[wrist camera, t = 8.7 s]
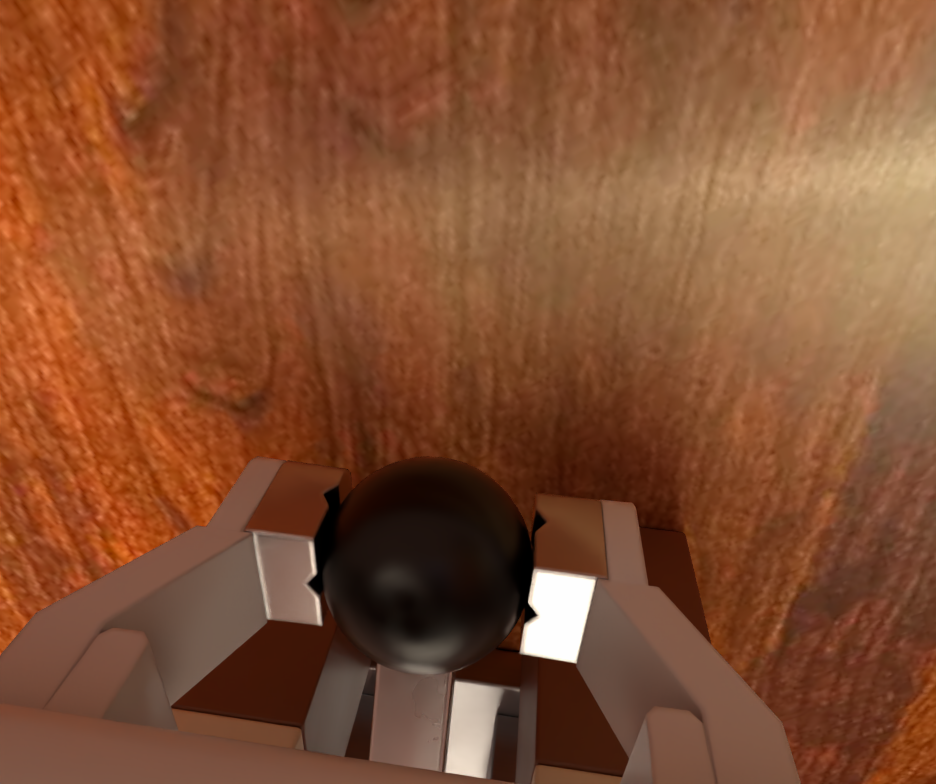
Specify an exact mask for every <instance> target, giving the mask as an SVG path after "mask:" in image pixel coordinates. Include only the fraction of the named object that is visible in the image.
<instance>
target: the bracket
mask: <svg viewBox="0 0 936 784" xmlns="http://www.w3.org/2000/svg"><path fill="white" fill-rule="evenodd" d="M521 664H522V654H520V653H518V652H511V651H504V650H497V649H494V650H493V651H492V652H490V653H489V654H488V655H487V656H485V657H483V658H482V659H480V660H479V661H477V662H475V663H473V664H471V665H469V666H467V667H465V668H462V669H460V670H457V671H456V678H455V687H454V696H453V706H452V715H451V725H450V734H449V743H448V753H447V762H446V772H447V773H453V774H460V775H466V776H473V777H479V778H486V779H492V780H498V781H505V782H511V783H515V778H516V759H517V740H518V721H519V702H520V683H521ZM376 666H377V663H376V662H374V661H373V660H371V663H370V667H369V670H368V674H367V677H366V681H365V685H364V688H363V692H362V695H361V699H360V703H359V706H358V710H357V713H356V717H355V721H354V724H353V728H352V731H351V735H350V739H349V742H348V746H347V749H346V753H345V757H350V758H357V759H363V760H369V749H370V737H371V725H372V713H373V702H374V690H375V678H376Z"/></svg>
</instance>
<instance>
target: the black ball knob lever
mask: <svg viewBox="0 0 936 784" xmlns="http://www.w3.org/2000/svg"><path fill="white" fill-rule="evenodd" d="M531 553H532V546H531V542H530V537H529V533H528V529H527V527H526V524H525V521H524V519H523V517H522V515H521V513H520V511H519V509H518V507H517V506H516V504H515V503H514V502H513V500H512V499H511V497H510V496H509V495H508V493H507V492H506V491H505V490H504V489H503V488H502V487H501V486H500V485H499V484H498V483H497V482H496V481H495V480H493V479H492V478H491V477H490V476H488V475H487V474H485V473H484V472H482V471H480V470H479V469H477V468H475V467H473V466H471V465H468V464H466V463H463V462H460V461H457V460H454V459H449V458H443V457H430V456H427V457H415V458H410V459H405V460H401V461H398V462H395V463H392V464H389V465H387V466H385V467H383V468H381V469H379V470H377V471H375V472H374V473H372V474H371V475H369V476H368V477H366V478H365V479H364V480H363V481H361V482H360V483H359V484H358V485H357V486H356V487H355V488H354V489H353V490H352V491H351V492H350V493H349V494H348V495H347V497H346V498H345V499H344V500H343V502H342V503H341V505H340V507H339V508H338V510H337V512H336V513H335V515H334V516H333V519H332V521H331V523H330V526H329V528H328V531H327V535H326V539H325V542H324V547H323V555H322V583H323V590H324V594H325V598H326V601H327V604H328V607H329V609H330V611H331V614H332V616H333V619H334V620H335V622H336V624H337V626H338V627H339V629H340V630H341V632H342V633H343V634H344V636H345V637H346V638H347V639H348V641H349V642H350V643H351V644H352V645H353V646H354V647H355V648H356V649H358V650H359V651H360V652H361V653H363V654H364V655H365V656H366V657H368V658H370V659H371V660H373V661H374V662H376V663H377V666H376V678H375V690H374V702H373V713H372V725H371V737H370V749H369V760H370V761H376V762H382V763H389V764H395V765H402V766H408V767H415V768H421V769H427V770H434V771H440V772H446V762H447V753H448V743H449V734H450V725H451V715H452V706H453V696H454V687H455V678H456V671H457V670H460V669H462V668H465V667H467V666H469V665H471V664H473V663H475V662H477V661H479V660H480V659H482V658H483V657H485V656H487V655H488V654H489V653H490V652H492V651H493V650H494V649H495V648H497V646H498V645H499V644H500V643H501V642H502V641H503V640H504V639H505V638H506V637H507V636H508V635H509V633H510V632H511V630H512V629H513V628H514V626H515V625H516V623H517V621H518V619H519V617H520V616H521V614H522V612H523V609H524V607H525V604H526V602H527V599H528V588H529V579H530V569H531Z"/></svg>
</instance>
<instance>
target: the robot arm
mask: <svg viewBox="0 0 936 784" xmlns="http://www.w3.org/2000/svg"><path fill="white" fill-rule="evenodd" d="M351 491H352V480H351V472H350V471H349V470H348V469H343V468H336V467H330V466H323V465H316V464H309V463H303V462H296V461H289V460H288V461H285V460H278V459H272V458H265V457H258V456H257V457H256V458H254V459H252V460H251V461H250V462H249V463H248V464H247V466H246V467H245V469H244V470H243V472H242V473H241V475H240V476H239V478H238V480H237V481H236V483H235V484H234V486H233V487H232V489H231V490H230V492H229V493H228V495H227V496H226V498H225V499H224V501H223V502H222V504H221V505H220V507H219V508H218V510H217V511H216V513H215V514H214V516H213V517H212V519H211V520H210V522H209V523H208V525H207V526H206V527H203V526H195V527H194V528H192V529H190V530H188V531H186V532H184V533H183V534H181V535H179V536H177V537H175V538H173V539H171V540H170V541H168V542H166V543H164V544H162V545H160V546H159V547H157V548H155V549H153V550H151V551H149V552H147V553H146V554H144V555H142V556H140V557H138V558H136V559H135V560H133V561H131V562H129V563H127V564H125V565H123V566H122V567H120V568H118V569H116V570H114V571H112V572H111V573H109V574H107V575H105V576H103V577H101V578H99V579H98V580H96V581H94V582H92V583H90V584H88V585H87V586H85V587H83V588H81V589H79V590H77V591H76V592H74V593H72V594H70V595H68V596H66V597H64V598H63V599H61V600H59V601H57V602H55V603H53V604H52V605H50V606H48V607H46V608H44V609H42V610H40V611H39V612H37V613H36V614H35V615H34V616H33V617H32V618H31V620H30V621H29V622H28V623H27V624H26V625H25V627H24V628H23V629H22V630H21V631H20V633H19V634H18V635H17V636H16V637H15V638H14V640H13V641H12V642H11V643H10V644H9V646H8V647H7V648H6V649H5V650H4V651H3V653H2V654H1V655H0V784H518V783H511V782H505V781H498V780H492V779H486V778H479V777H473V776H466V775H460V774H453V773H447V772H440V771H434V770H427V769H421V768H415V767H408V766H402V765H395V764H389V763H382V762H376V761H370V760H363V759H357V758H350V757H344V756H337V755H331V754H325V753H318V752H312V751H305V750H299V749H292V748H286V747H280V746H273V745H267V744H260V743H254V742H247V741H241V740H235V739H228V738H222V737H215V736H209V735H203V734H196V733H190V732H183V731H179V730H178V727H177V724H176V721H175V718H174V715H173V712H172V709H171V705H173V704H174V703H175V702H176V701H177V700H178V699H180V698H181V697H182V696H183V695H184V694H185V693H187V692H188V691H189V690H190V689H191V688H192V687H193V686H195V685H196V684H197V683H198V682H199V681H200V680H202V679H203V678H204V677H205V676H206V675H207V674H209V673H210V672H211V671H212V670H213V669H214V668H215V667H217V666H218V665H219V664H220V663H221V662H222V661H224V660H225V659H226V658H227V657H228V656H229V655H231V654H232V653H233V652H234V651H235V650H236V649H237V648H239V647H240V646H241V645H242V644H243V643H244V642H246V641H247V640H248V639H249V638H250V637H251V636H253V635H254V634H255V633H256V632H257V631H258V630H259V629H261V628H262V627H263V626H264V625H265V624H266V623H267V620H276V621H285V622H294V623H303V624H312V625H320V626H322V625H323V622H324V620H325V617H326V614H327V612H328V609H329V607H328V604H327V601H326V598H325V594H324V590H323V583H322V555H323V547H324V542H325V539H326V535H327V531H328V528H329V526H330V523H331V521H332V519H333V516H334V515H335V513H336V512H337V510H338V508H339V507H340V505H341V503H342V502H343V500H344V499H345V498H346V497H347V495H348V494H349V493H350V492H351ZM529 537H530V542H531V546H532V553H531V569H530V579H529V588H528V599H527V602H526V604H525V607H524V609H523V612H522V616H521V637H520V654H524V655H530V656H536V657H542V658H548V659H554V660H559V661H565V662H571V663H577V665H576V667H577V669H578V670H579V672H580V674H581V676H582V677H583V679H584V681H585V683H586V684H587V686H588V688H589V690H590V691H591V693H592V695H593V696H594V698H595V700H596V702H597V703H598V705H599V707H600V709H601V710H602V712H603V714H604V716H605V717H606V719H607V721H608V723H609V724H610V726H611V728H612V730H613V731H614V733H615V735H616V737H617V738H618V740H619V742H620V744H621V745H622V747H623V749H624V751H625V752H626V754H627V756H628V758H629V761H628V764H627V766H626V769H625V772H624V774H623V777H622V779H621V782H620V784H801V782H800V779H799V776H798V773H797V769H796V766H795V763H794V760H793V756H792V753H791V750H790V747H789V744H788V740H787V737H786V734H785V731H784V727H783V724H782V722H781V721H780V720H779V719H778V717H777V716H776V715H775V714H774V713H773V712H772V711H771V710H770V709H769V708H768V706H767V705H766V704H765V703H764V702H763V701H762V700H761V699H760V698H759V697H758V695H757V694H756V693H755V692H754V691H753V690H752V689H751V688H750V687H749V686H748V685H747V683H746V682H745V681H744V680H743V679H742V678H741V677H740V676H739V675H738V674H737V672H736V671H735V670H734V669H733V668H732V667H731V666H730V665H729V664H728V663H727V661H726V660H725V659H724V658H723V657H722V656H721V655H720V654H719V653H718V652H717V651H716V649H715V648H714V647H713V646H712V645H711V644H710V643H709V642H708V641H707V640H706V638H705V637H704V636H703V635H702V634H701V633H700V632H699V631H698V630H697V629H696V627H695V626H694V625H693V624H692V623H691V622H690V621H689V620H688V619H687V618H686V617H685V615H684V614H683V613H682V612H681V611H680V610H679V609H678V608H677V607H676V606H675V604H674V603H673V602H672V601H671V600H670V599H669V598H668V597H667V596H666V595H665V593H664V592H663V591H662V590H661V589H660V588H659V587H655V586H648V579H647V573H646V567H645V561H644V555H643V548H642V542H641V536H640V530H639V523H638V517H637V511H636V507H635V506H634V504H633V503H628V502H619V501H609V500H600V501H599V500H594V499H586V498H577V497H569V496H560V495H552V494H543V493H536V494H535V498H534V504H533V510H532V523H531V531H530V532H529Z"/></svg>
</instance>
